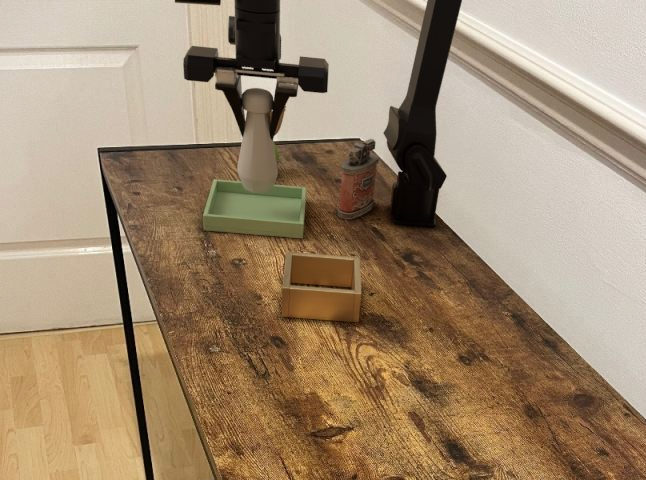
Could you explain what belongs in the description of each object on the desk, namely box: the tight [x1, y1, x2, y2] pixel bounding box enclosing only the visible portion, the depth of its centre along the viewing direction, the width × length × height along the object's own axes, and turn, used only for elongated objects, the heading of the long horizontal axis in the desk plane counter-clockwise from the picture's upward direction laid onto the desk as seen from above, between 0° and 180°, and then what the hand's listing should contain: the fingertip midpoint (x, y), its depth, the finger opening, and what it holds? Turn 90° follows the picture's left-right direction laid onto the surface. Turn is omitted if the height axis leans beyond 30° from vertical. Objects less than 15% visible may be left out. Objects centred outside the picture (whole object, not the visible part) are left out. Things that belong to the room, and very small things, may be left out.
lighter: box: [337, 138, 380, 220], centre depth 118 cm, size 8×3×10 cm, turn 148°
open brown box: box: [281, 251, 362, 323], centre depth 99 cm, size 10×10×4 cm
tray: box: [202, 178, 307, 239], centre depth 116 cm, size 14×13×2 cm
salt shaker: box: [236, 87, 279, 193], centre depth 109 cm, size 6×6×13 cm
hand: (257, 137), depth 109 cm, fingers closed on salt shaker, 3 cm apart
